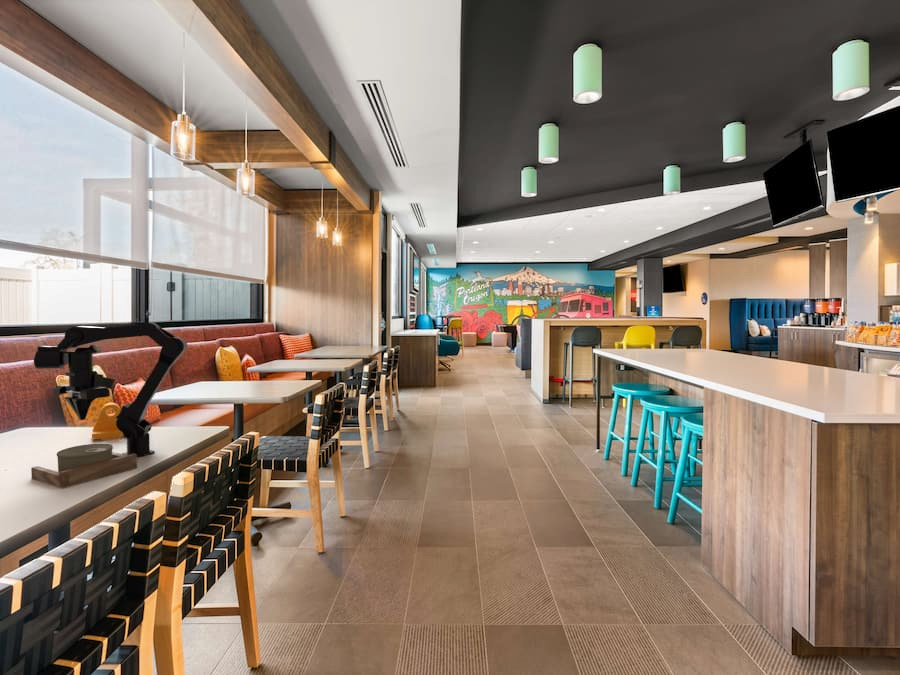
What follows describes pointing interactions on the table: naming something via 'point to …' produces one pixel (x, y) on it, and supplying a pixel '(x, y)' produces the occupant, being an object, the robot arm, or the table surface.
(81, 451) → the can
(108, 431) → the bracket
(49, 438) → the table surface
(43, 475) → the pocket
